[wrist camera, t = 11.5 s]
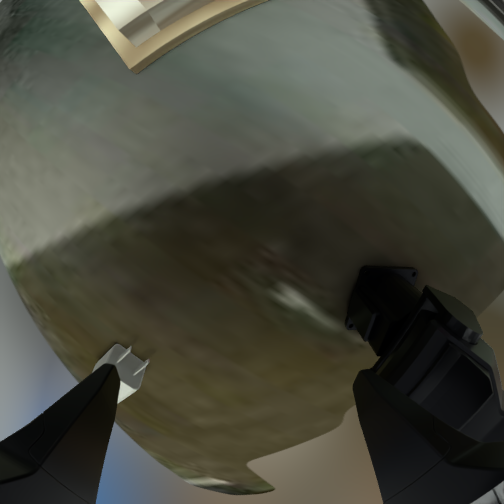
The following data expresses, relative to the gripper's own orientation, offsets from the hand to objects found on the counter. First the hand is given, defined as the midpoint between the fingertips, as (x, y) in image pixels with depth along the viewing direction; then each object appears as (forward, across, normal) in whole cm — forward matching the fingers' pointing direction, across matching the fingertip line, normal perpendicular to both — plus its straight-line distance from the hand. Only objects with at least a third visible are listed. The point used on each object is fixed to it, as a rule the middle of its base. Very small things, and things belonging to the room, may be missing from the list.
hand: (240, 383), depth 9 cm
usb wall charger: (+13, +10, +12) cm, 21 cm away
